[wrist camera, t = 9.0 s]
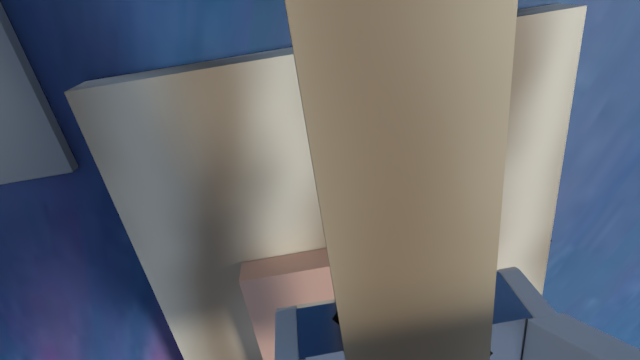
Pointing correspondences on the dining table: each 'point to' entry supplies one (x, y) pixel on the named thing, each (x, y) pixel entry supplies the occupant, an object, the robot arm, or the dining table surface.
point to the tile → (282, 289)
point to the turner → (408, 165)
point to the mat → (26, 118)
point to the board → (286, 171)
